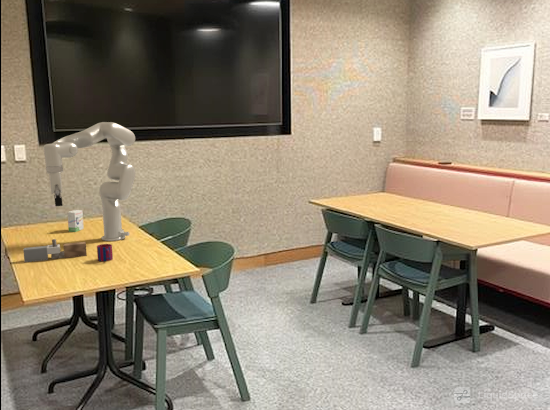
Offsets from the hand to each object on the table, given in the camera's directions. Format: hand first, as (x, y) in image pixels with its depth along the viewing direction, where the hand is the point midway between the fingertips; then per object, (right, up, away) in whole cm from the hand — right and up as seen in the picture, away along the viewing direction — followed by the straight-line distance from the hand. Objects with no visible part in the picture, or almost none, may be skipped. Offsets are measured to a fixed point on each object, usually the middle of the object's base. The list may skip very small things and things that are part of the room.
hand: (58, 204), depth 256 cm
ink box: (-13, -16, +55) cm, 59 cm away
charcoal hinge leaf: (-4, -26, -8) cm, 28 cm away
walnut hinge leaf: (+6, -25, -3) cm, 26 cm away
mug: (+26, -27, -10) cm, 39 cm away
